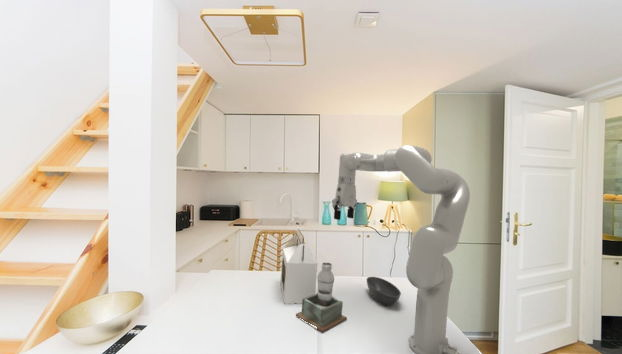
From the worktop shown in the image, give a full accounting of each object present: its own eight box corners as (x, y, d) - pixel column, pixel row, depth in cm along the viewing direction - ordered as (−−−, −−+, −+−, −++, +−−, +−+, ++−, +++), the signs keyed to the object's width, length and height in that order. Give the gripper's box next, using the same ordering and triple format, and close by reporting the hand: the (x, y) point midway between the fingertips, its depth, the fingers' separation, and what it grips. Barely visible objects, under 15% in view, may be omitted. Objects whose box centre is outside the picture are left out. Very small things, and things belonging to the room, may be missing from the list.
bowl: (381, 312, 111) (383, 297, 111) (359, 289, 133) (360, 277, 133) (407, 310, 114) (408, 296, 114) (381, 288, 136) (382, 276, 135)
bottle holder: (346, 320, 103) (348, 302, 103) (322, 333, 93) (323, 313, 93) (320, 305, 113) (321, 289, 113) (295, 316, 103) (297, 298, 103)
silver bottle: (330, 321, 99) (334, 268, 99) (313, 317, 101) (316, 265, 101) (333, 312, 106) (336, 262, 106) (316, 309, 107) (320, 260, 107)
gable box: (280, 282, 134) (284, 227, 134) (306, 282, 136) (310, 228, 136) (284, 304, 112) (288, 238, 112) (314, 303, 114) (319, 239, 114)
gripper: (341, 181, 112) (338, 221, 112) (364, 182, 124) (361, 218, 124) (327, 179, 117) (325, 218, 117) (351, 181, 129) (348, 216, 129)
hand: (343, 218), depth 121 cm, fingers open, 9 cm apart
